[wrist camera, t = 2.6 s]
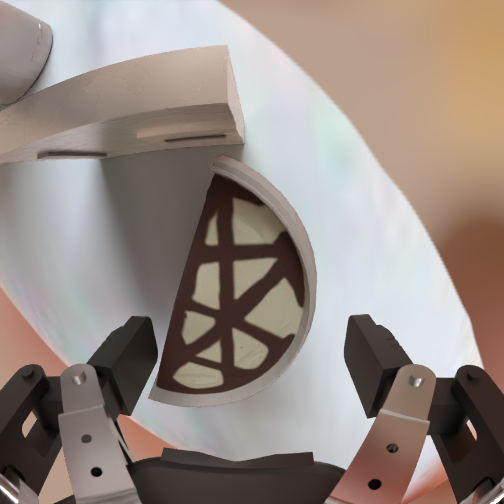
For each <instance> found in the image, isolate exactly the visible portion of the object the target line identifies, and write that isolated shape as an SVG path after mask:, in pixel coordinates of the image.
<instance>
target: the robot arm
mask: <svg viewBox="0 0 504 504" xmlns="http://www.w3.org/2000/svg"><path fill="white" fill-rule="evenodd" d="M51 45H52V30H51V28H50V26H49V25H48V24H47V23H45V22H43V21H41V20H39V19H37V18H35V17H33V16H31V15H29V14H27V13H26V12H24V11H22V10H20V9H18V8H16V7H14V6H11V5H9V4H7V3H5V2H3V1H0V104H11V103H13V102H15V101H17V100H18V99H19V98H20V97H22V96H23V95H24V94H25V93H26V92H27V91H28V89H29V88H30V87H31V86H32V84H33V83H34V82H35V80H36V79H37V77H38V75H39V74H40V72H41V70H42V68H43V66H44V64H45V62H46V60H47V57H48V55H49V52H50V48H51ZM157 359H158V348H157V344H156V339H155V335H154V330H153V325H152V321H151V319H150V318H149V317H142V316H131V317H130V319H129V320H128V321H127V322H126V323H125V325H124V326H123V327H122V326H121V327H119V328H118V329H116V330H114V331H113V332H111V334H110V335H109V336H108V337H107V338H106V341H104V342H103V343H102V345H101V346H100V347H99V348H98V349H97V351H96V352H95V353H94V354H93V356H92V357H91V358H90V359H89V361H88V362H87V363H86V364H76V365H72V366H70V367H68V368H67V369H65V370H64V371H63V373H62V374H61V376H59V377H57V376H55V377H46V375H45V372H44V370H43V368H42V367H41V366H39V365H36V364H30V365H26V366H24V367H22V368H20V369H19V370H18V371H17V372H16V373H15V374H14V375H13V376H12V378H11V379H10V380H9V381H8V382H7V383H6V385H5V386H4V387H3V388H2V389H1V390H0V504H39V499H38V496H39V493H40V491H41V489H42V487H43V485H44V482H45V480H46V478H47V476H48V474H49V471H50V469H51V467H52V465H53V463H54V461H55V459H56V457H57V455H58V453H59V451H60V449H61V447H62V446H63V452H64V457H65V461H66V465H67V470H68V474H69V478H70V482H71V485H72V489H73V492H74V494H73V495H71V496H69V497H67V498H65V499H63V500H61V501H58V502H56V503H54V504H401V501H402V499H403V497H404V495H405V493H406V490H407V488H408V486H409V483H410V481H411V478H412V476H413V473H414V471H415V468H416V465H417V463H418V460H419V457H420V454H421V451H422V448H423V445H424V442H425V439H426V435H431V437H432V440H433V442H434V444H435V447H436V449H437V451H438V454H439V456H440V459H441V461H442V463H443V466H444V468H445V471H446V474H447V476H448V479H449V481H450V484H451V486H452V489H453V492H454V495H455V498H456V501H457V504H504V394H503V393H502V392H501V390H500V389H499V388H498V387H497V385H496V384H495V383H494V382H493V380H492V379H491V378H490V376H489V375H488V374H487V373H486V372H485V371H484V370H483V369H482V368H480V367H477V366H474V365H464V366H462V367H460V368H459V369H458V370H457V373H456V375H455V377H454V378H436V376H435V374H434V372H433V371H432V370H430V369H429V368H427V367H425V366H422V365H418V364H413V362H412V361H411V360H410V358H409V357H408V355H407V354H406V353H405V351H404V350H403V348H402V347H401V346H399V343H398V341H397V340H395V337H394V336H393V335H392V333H391V332H390V331H389V330H388V329H386V328H385V327H383V326H382V325H376V324H375V322H374V321H373V320H372V318H371V317H370V315H369V314H362V315H351V316H350V317H349V320H348V326H347V333H346V339H345V345H344V359H345V363H346V365H347V368H348V370H349V373H350V375H351V378H352V380H353V383H354V385H355V388H356V390H357V393H358V395H359V398H360V401H361V403H362V406H363V408H364V411H365V414H366V416H367V419H368V418H373V417H376V419H375V421H374V423H373V425H372V427H371V429H370V431H369V433H368V435H367V436H366V438H365V440H364V442H363V444H362V445H361V447H360V449H359V451H358V452H357V454H356V456H355V457H354V459H353V461H352V462H351V464H350V466H349V467H348V469H347V470H345V469H343V468H340V467H338V466H335V465H331V464H328V463H323V462H316V461H314V459H313V452H305V453H292V454H274V455H270V456H266V457H261V458H256V459H251V460H245V461H239V462H234V461H229V460H225V459H221V458H218V457H214V456H211V455H207V454H204V453H200V452H195V451H186V450H177V449H170V448H164V449H163V453H162V456H161V457H153V458H147V459H143V460H139V461H135V459H134V457H133V455H132V453H131V451H130V449H129V446H128V444H127V442H126V440H125V437H124V435H123V432H122V430H121V427H120V425H119V422H118V420H117V417H118V415H119V414H123V415H127V416H131V414H132V412H133V410H134V408H135V406H136V403H137V401H138V399H139V397H140V395H141V393H142V391H143V389H144V387H145V385H146V383H147V381H148V379H149V377H150V374H151V372H152V370H153V368H154V366H155V364H156V362H157ZM31 411H32V412H33V414H34V415H35V416H36V418H37V420H36V422H35V424H34V425H33V427H32V428H31V430H30V432H29V433H28V435H27V437H26V438H25V437H24V435H23V433H22V425H23V423H24V421H25V420H26V418H27V417H28V415H29V414H30V412H31ZM468 420H470V421H471V423H472V425H473V427H474V428H475V430H476V433H477V440H475V438H474V436H473V435H472V433H471V431H470V429H469V427H468V426H467V424H466V423H467V421H468Z"/></svg>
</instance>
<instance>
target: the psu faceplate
mask: <svg viewBox="0 0 504 504" xmlns="http://www.w3.org/2000/svg"><path fill="white" fill-rule="evenodd" d="M230 144H244V117H243V113H242V108H241V104H240V99H239V95H238V90H237V86H236V81H235V77H234V72H233V68H232V64H231V59H230V55H229V51H228V46H227V45H217V46H207V47H198V48H190V49H183V50H176V51H170V52H164V53H159V54H154V55H149V56H144V57H140V58H136V59H131V60H127V61H124V62H120V63H116V64H113V65H109V66H106V67H102V68H99V69H96V70H93V71H90V72H87V73H84V74H81V75H78V76H76V77H73V78H70V79H68V80H65V81H63V82H60V83H58V84H55V85H53V86H50V87H48V88H46V89H44V90H41V91H39V92H37V93H35V94H33V95H31V96H29V97H27V98H25V99H23V100H21V101H19V102H17V103H15V104H13V105H11V106H9V107H8V108H6V109H4V110H2V111H1V112H0V163H9V162H22V161H38V160H64V159H104V158H109V157H115V156H121V155H128V154H135V153H142V152H149V151H157V150H166V149H175V148H186V147H198V146H212V145H230Z"/></svg>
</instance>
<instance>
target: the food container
mask: <svg viewBox="0 0 504 504" xmlns="http://www.w3.org/2000/svg"><path fill="white" fill-rule="evenodd" d="M209 169H210V170H211V171H212V172H214V173H215V175H214V177H213V179H212V182H211V185H210V187H209V189H208V191H207V196H206V201H205V205H204V208H203V211H202V214H201V217H200V220H199V224H198V227H197V230H196V233H195V236H194V239H193V242H192V246H191V249H190V252H189V256H188V259H187V263H186V266H185V269H184V273H183V276H182V279H181V283H180V286H179V290H178V293H177V297H176V300H175V304H174V307H173V312H172V316H171V320H170V325H169V329H168V333H167V337H166V341H165V345H164V350H163V354H162V358H161V363H160V367H159V372H158V374H157V377H156V379H155V382H154V384H153V387H152V389H151V392H150V394H149V397H148V399H152V400H155V401H158V402H161V403H165V404H170V405H175V406H181V407H196V408H200V407H215V406H220V405H225V404H230V403H234V402H237V401H240V400H242V399H245V398H248V397H250V396H252V395H254V394H256V393H258V392H259V391H261V390H263V389H265V388H266V387H267V386H269V385H270V384H271V383H273V382H274V381H275V380H277V379H278V378H279V377H280V376H281V375H282V374H283V373H284V372H285V370H286V369H287V368H288V367H289V366H290V365H291V363H292V362H293V360H294V359H295V357H296V356H297V354H298V353H299V351H300V349H301V347H302V346H303V344H304V342H305V340H306V337H307V335H308V333H309V331H310V328H311V325H312V321H313V316H314V312H315V307H316V284H317V272H316V266H315V259H314V252H313V249H312V246H311V243H310V240H309V237H308V234H307V231H306V229H305V227H304V226H303V224H302V222H301V220H300V218H299V216H298V214H297V213H296V211H295V210H294V208H293V207H292V206H291V204H290V203H289V202H288V201H287V199H286V198H285V197H284V196H283V194H282V193H281V192H280V191H279V190H278V189H277V188H276V187H275V186H273V185H272V184H271V183H270V182H269V181H268V180H267V179H266V178H265V177H263V176H262V175H261V174H259V173H258V172H256V171H254V170H253V169H251V168H250V167H248V166H246V165H245V164H243V163H242V162H239V161H237V160H234V159H232V158H230V157H227V156H225V155H223V154H222V155H220V156H219V157H217V158H216V159H215V160H214V163H213V165H212V166H209Z"/></svg>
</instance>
